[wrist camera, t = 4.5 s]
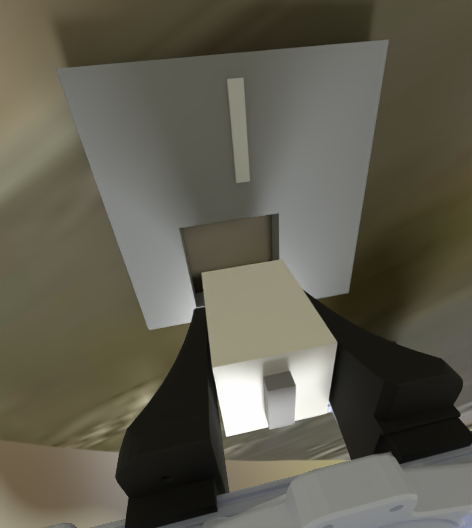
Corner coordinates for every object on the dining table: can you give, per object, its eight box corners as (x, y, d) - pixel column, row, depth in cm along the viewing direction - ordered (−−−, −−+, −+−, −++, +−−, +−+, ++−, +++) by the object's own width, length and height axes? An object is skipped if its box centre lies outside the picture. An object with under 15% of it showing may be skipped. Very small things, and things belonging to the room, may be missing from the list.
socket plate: (337, 280, 23) (349, 294, 21) (151, 314, 22) (148, 331, 20) (367, 46, 15) (391, 38, 13) (70, 73, 13) (53, 67, 12)
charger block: (282, 319, 17) (333, 427, 11) (212, 333, 16) (228, 452, 11) (282, 259, 14) (346, 355, 9) (201, 272, 14) (213, 383, 8)
